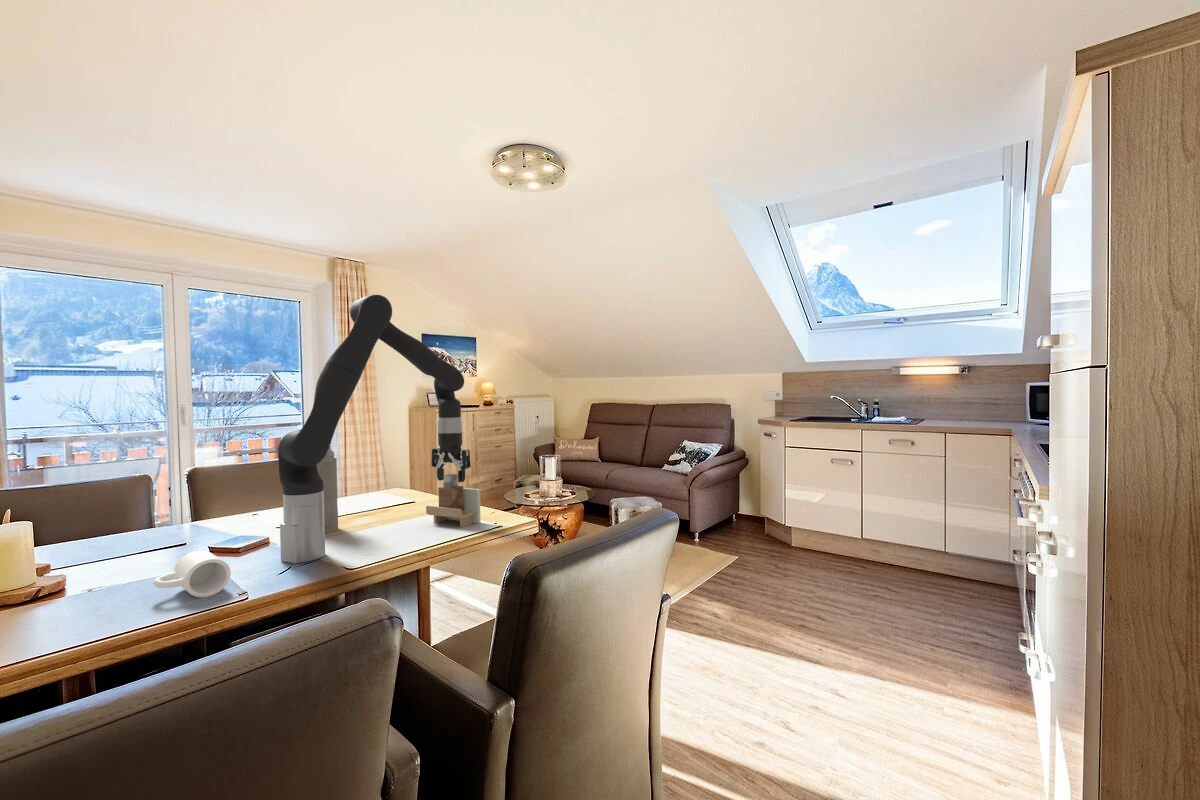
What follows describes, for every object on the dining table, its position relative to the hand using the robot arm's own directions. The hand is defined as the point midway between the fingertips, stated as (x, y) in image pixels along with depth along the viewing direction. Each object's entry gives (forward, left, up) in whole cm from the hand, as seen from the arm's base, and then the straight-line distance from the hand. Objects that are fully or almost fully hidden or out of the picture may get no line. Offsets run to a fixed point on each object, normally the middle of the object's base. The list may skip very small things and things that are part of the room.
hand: (451, 481), depth 167 cm
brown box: (0, 0, -10) cm, 10 cm away
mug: (-68, +12, -14) cm, 71 cm away
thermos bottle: (-22, +32, -14) cm, 41 cm away
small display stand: (0, 0, -14) cm, 14 cm away
